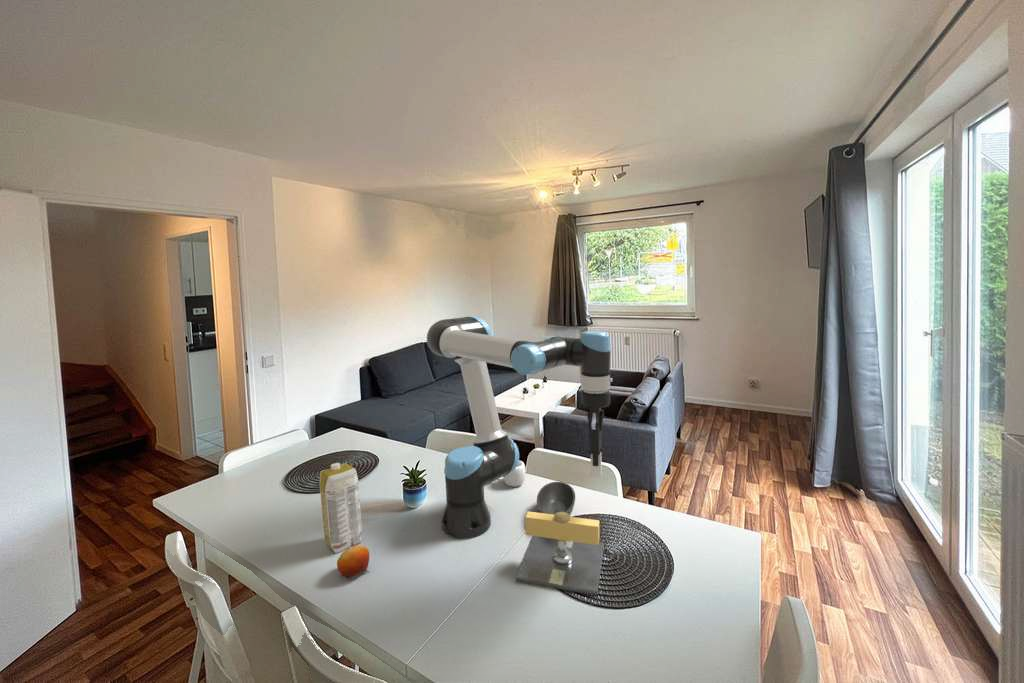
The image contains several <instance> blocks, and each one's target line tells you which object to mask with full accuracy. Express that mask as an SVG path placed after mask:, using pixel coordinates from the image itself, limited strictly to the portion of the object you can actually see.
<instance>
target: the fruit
mask: <svg viewBox="0 0 1024 683" xmlns="http://www.w3.org/2000/svg"><path fill="white" fill-rule="evenodd" d="M369 563H370V550H369V549H368V547H366V546H365V545H363V544H356V545H354V546H351V547H349V548H347V549H345V550H343V551H342V552H341V554H340V556H339V557H338V558H337V561H336V566H337V571H338V573H339V574H340V575H341V577H343V578H344V579H353V580H356V579H357V577H359V575H360V574H362V573H366V572H368V573H370V571H368V567H369Z"/></svg>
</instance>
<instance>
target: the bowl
mask: <svg viewBox="0 0 1024 683" xmlns="http://www.w3.org/2000/svg"><path fill="white" fill-rule="evenodd" d="M575 502H576V492H575V489H574V488H573V486H571V485H570V484H568V483H566V482H564V481H563V482H562V481H552V482H549V483H547V484H545V485H543V486H542V487H541V488H540V489H539V491H538V493H537V496H536V506H537V508H538V511H539V512H538V513H545V514H552V515H555V514H556V513H558V512H565V513H568V514H569V515H570V516H571V515H572V513H573V510H574V506H575Z"/></svg>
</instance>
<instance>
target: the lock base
mask: <svg viewBox="0 0 1024 683" xmlns="http://www.w3.org/2000/svg"><path fill="white" fill-rule="evenodd" d="M529 542H530V543H529V545H528V548H527V550H526V553H525V555H524V557H523V559H522V562H521V564H520V566H519V569H518V571H517V573H516V576H515V583H516V582H517V583H522V584H528V585H535V586H539V587H547V588H552V589H557V590H562V591H567V592H573V593H579V594H585V595H591V596H595V597H597V596H598V594H599V593H598V592H599V586H600V585H599V584H600V577H601V573H602V572H601V571H602V563H603V556H604V549H605V542H604V541H599V544H598V545H593V544H587V543H580V542H573V541H566V540H559V539H552V538H545V537H538V536H532V538H531V540H530V541H529Z"/></svg>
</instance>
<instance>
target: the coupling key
mask: <svg viewBox="0 0 1024 683" xmlns="http://www.w3.org/2000/svg"><path fill="white" fill-rule="evenodd" d="M526 513H527V514H526V515H525V536H526V535H527V536H531V537H533V536H538V537H545V538H552V539H559V540H566V541H573V542H580V543H587V544H593V545H598V544H599V542H600V520H599V519H589V518H582V517H575V516H571V515H569V514H568V513H565V512H558V513H556V514H555V515H552V514H545V513H540V512H535V511H527V512H526Z"/></svg>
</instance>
